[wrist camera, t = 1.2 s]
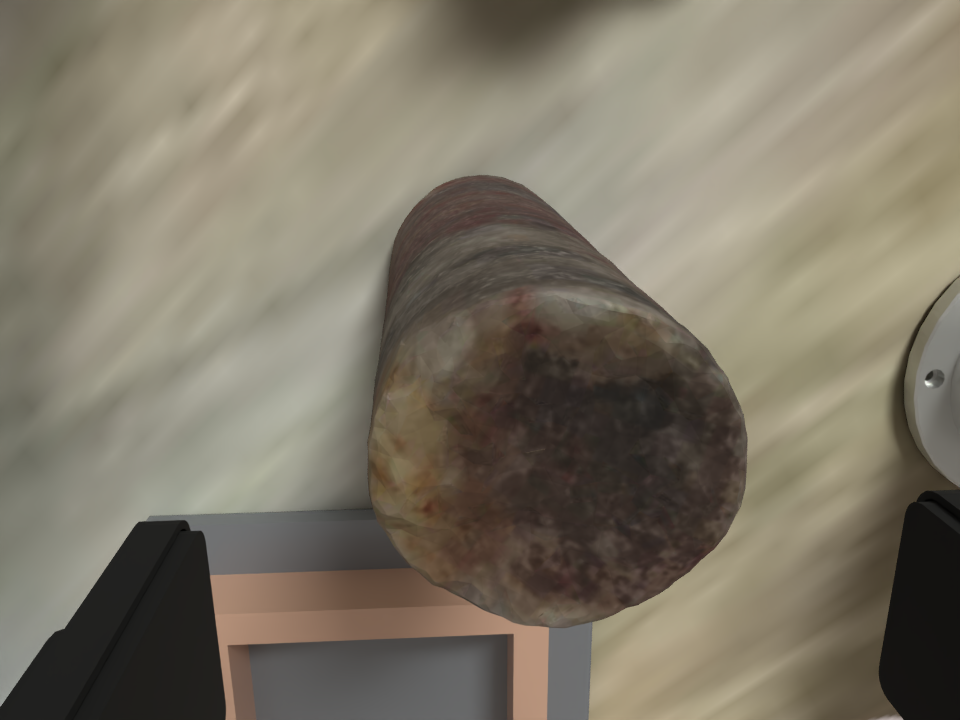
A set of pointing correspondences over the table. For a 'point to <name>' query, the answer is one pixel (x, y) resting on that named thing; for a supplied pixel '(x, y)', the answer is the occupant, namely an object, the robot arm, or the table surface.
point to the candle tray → (369, 630)
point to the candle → (542, 416)
